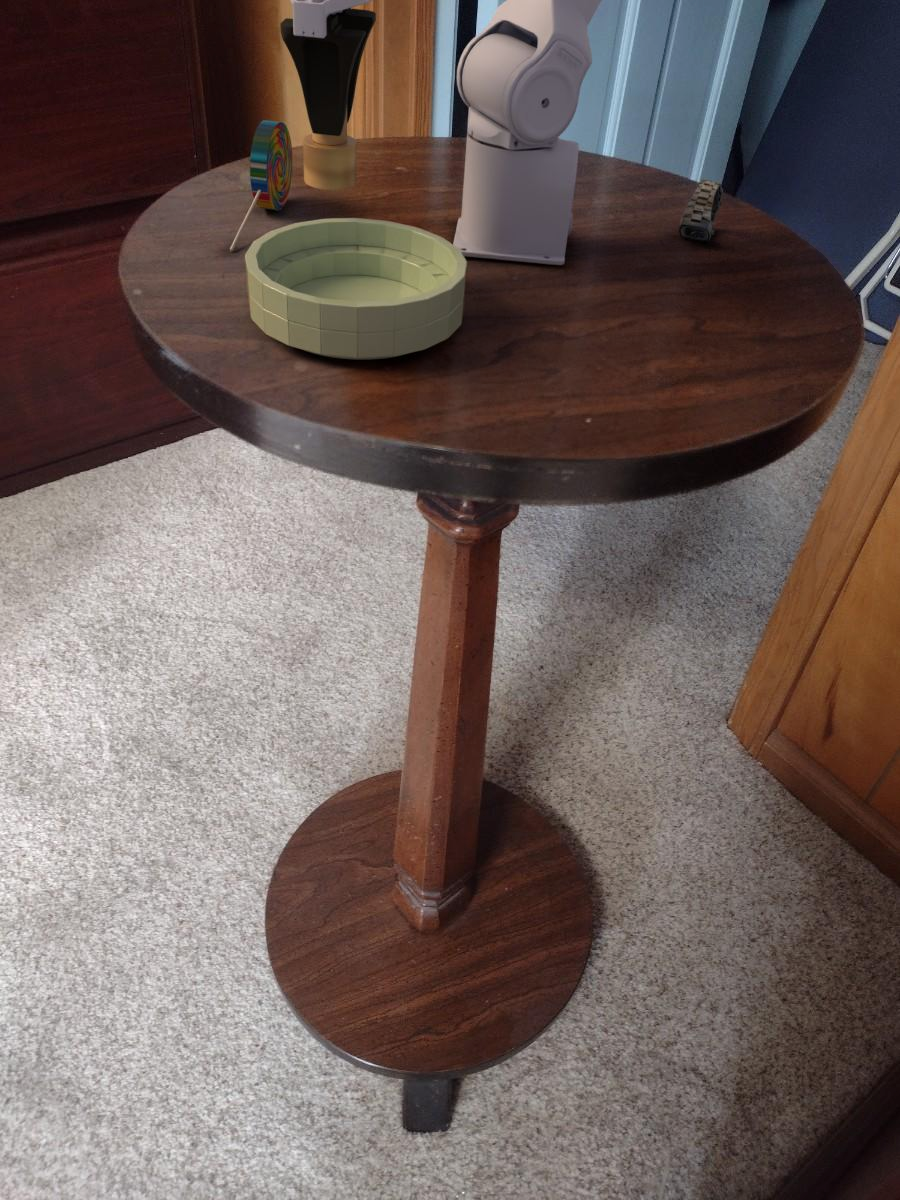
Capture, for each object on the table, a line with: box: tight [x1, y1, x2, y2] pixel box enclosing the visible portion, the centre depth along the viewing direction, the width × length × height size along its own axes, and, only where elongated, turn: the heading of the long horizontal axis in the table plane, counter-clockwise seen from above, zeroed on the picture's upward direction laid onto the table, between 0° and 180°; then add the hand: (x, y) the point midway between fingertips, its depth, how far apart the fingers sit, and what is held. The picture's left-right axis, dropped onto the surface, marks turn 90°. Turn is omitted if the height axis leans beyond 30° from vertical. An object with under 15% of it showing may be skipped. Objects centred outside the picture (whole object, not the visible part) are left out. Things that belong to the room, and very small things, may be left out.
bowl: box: [244, 217, 468, 361], centre depth 70 cm, size 16×16×4 cm
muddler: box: [302, 109, 358, 191], centre depth 72 cm, size 4×4×8 cm
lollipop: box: [229, 119, 294, 252], centre depth 83 cm, size 7×1×15 cm
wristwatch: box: [678, 178, 724, 243], centre depth 87 cm, size 3×5×5 cm
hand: (331, 127), depth 72 cm, fingers closed on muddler, 2 cm apart
